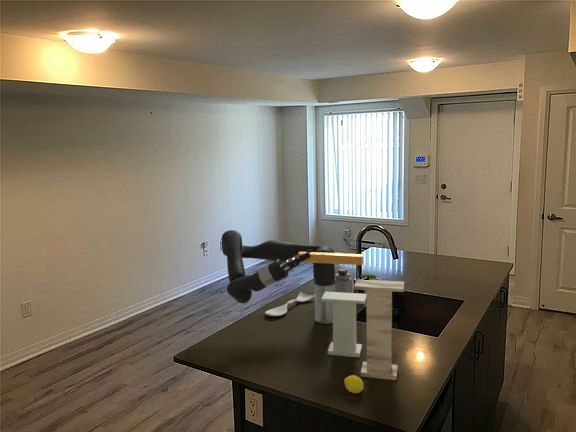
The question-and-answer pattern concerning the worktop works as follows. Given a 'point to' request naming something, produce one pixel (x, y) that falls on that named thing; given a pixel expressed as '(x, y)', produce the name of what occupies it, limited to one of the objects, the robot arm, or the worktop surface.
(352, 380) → the lemon
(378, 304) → the tall pedestal
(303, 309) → the worktop surface
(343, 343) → the white i-beam column
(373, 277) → the plant pot
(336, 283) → the perfume bottle
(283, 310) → the spoon
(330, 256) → the wooden block
